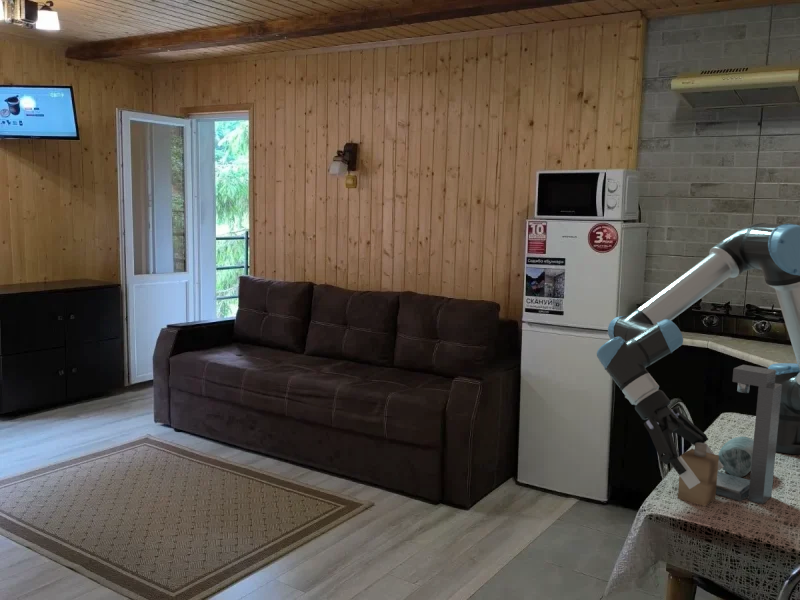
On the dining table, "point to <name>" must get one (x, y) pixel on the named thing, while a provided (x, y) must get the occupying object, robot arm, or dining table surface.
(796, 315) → the robot arm
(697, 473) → the brown bottle
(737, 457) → the blue grey streaked ovoid
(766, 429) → the press
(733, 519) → the dining table surface
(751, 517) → the dining table surface
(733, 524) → the dining table surface
